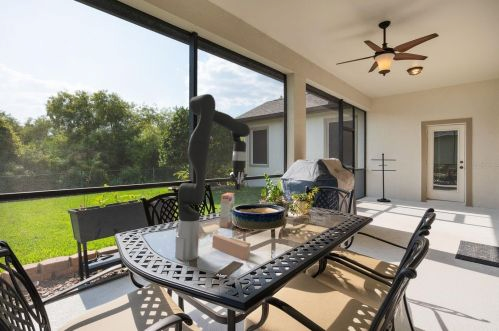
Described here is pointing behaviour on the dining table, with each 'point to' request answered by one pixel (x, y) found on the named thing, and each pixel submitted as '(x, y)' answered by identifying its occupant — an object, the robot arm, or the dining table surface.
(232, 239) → the birch block
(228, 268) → the wooden plank
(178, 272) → the dining table surface
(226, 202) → the cracker box
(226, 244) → the board
